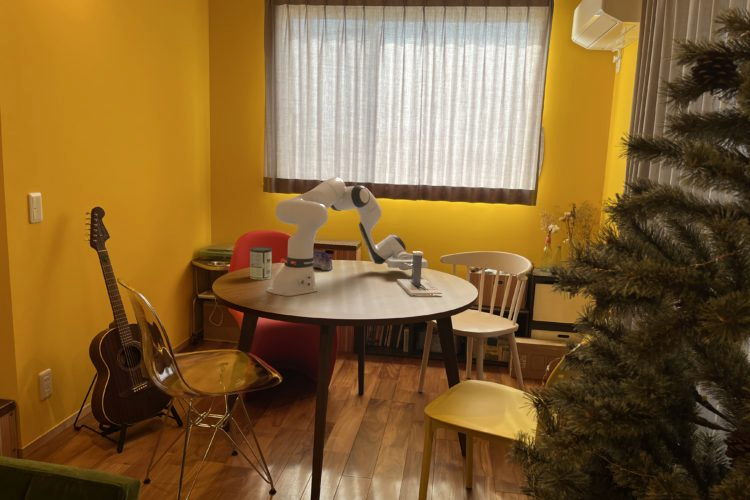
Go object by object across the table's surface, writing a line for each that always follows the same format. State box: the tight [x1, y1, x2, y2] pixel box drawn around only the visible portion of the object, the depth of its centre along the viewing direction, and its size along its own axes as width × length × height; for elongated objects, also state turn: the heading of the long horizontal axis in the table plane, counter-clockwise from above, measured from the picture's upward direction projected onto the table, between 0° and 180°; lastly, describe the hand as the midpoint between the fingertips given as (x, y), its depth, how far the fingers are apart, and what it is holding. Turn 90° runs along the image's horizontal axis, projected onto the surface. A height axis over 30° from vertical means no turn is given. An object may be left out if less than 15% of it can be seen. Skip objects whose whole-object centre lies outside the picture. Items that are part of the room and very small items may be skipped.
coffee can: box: [249, 246, 273, 281], centre depth 266 cm, size 10×10×14 cm
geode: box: [313, 249, 333, 272], centre depth 298 cm, size 20×12×10 cm, turn 29°
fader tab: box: [411, 250, 424, 286], centre depth 262 cm, size 4×4×16 cm
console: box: [396, 278, 443, 296], centre depth 259 cm, size 28×14×2 cm, turn 10°
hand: (410, 266), depth 274 cm, fingers closed
